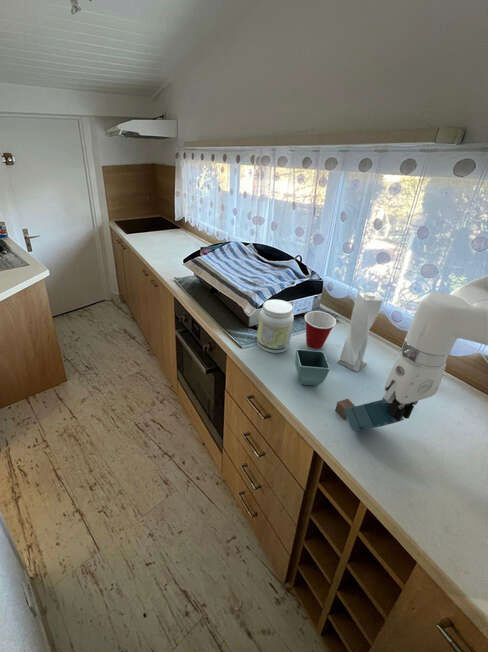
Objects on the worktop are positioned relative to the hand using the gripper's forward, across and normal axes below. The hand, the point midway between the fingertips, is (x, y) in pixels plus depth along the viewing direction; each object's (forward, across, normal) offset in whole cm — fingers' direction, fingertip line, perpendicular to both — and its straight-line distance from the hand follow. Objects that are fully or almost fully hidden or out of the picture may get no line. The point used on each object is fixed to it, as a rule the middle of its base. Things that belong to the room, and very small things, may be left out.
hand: (397, 414), depth 71 cm
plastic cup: (+12, +12, +43) cm, 46 cm away
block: (+9, -1, +12) cm, 15 cm away
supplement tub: (+12, -3, +48) cm, 50 cm away
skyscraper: (+13, +17, +31) cm, 38 cm away
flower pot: (+12, -3, +27) cm, 30 cm away
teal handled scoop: (+4, 0, +1) cm, 5 cm away
